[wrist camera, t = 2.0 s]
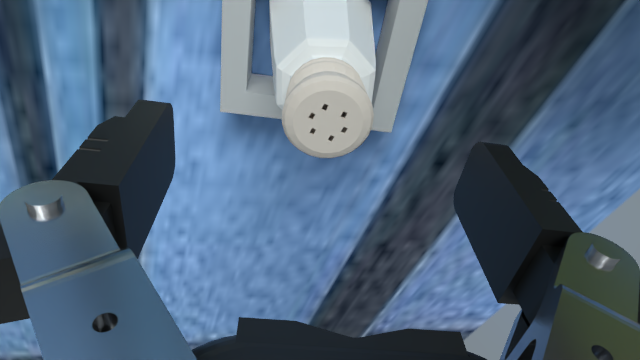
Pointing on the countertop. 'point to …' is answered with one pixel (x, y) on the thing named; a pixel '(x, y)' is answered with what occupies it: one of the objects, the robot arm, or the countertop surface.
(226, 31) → the square picture frame
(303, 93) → the pepper shaker
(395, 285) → the countertop surface
